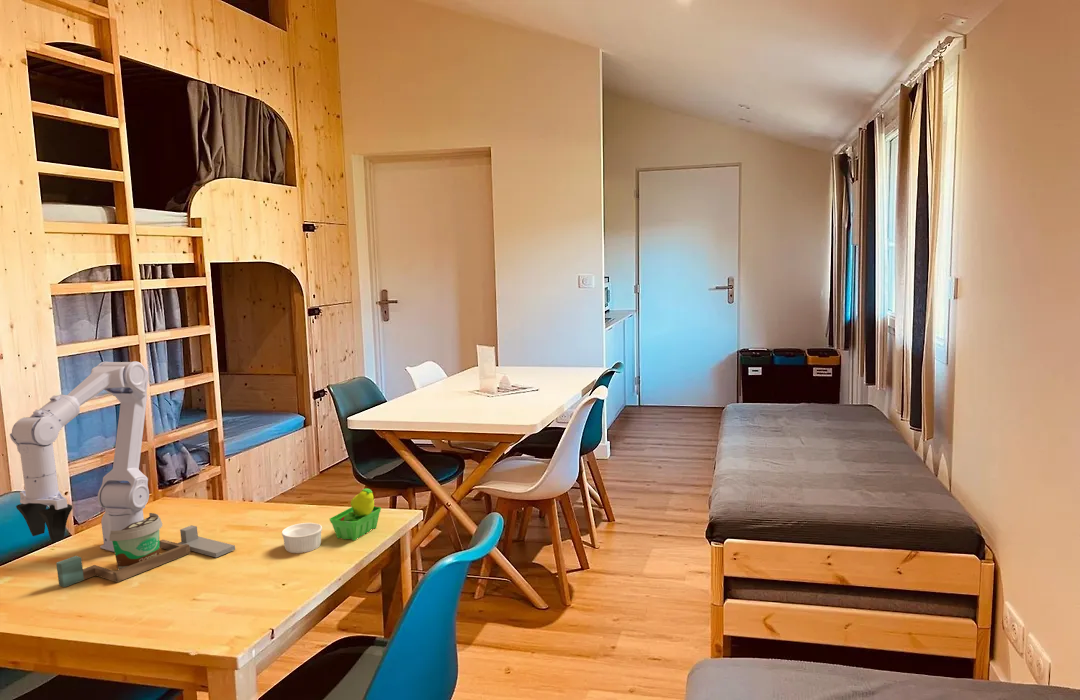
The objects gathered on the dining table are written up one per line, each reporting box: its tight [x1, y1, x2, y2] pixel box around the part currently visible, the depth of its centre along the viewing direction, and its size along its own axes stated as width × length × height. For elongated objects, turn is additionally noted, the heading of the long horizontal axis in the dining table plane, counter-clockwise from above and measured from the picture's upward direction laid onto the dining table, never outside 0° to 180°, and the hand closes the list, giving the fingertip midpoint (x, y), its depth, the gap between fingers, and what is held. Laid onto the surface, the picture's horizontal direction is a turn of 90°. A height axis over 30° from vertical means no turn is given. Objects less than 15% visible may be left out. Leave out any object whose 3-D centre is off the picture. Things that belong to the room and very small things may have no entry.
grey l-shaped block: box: [177, 525, 236, 558], centre depth 175 cm, size 14×5×4 cm, turn 60°
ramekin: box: [281, 522, 323, 554], centre depth 174 cm, size 9×9×4 cm
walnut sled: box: [55, 539, 191, 588], centre depth 165 cm, size 10×24×5 cm, turn 150°
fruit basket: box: [329, 488, 382, 541], centre depth 181 cm, size 11×9×11 cm
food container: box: [109, 512, 163, 570], centre depth 166 cm, size 12×6×10 cm, turn 166°
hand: (48, 537), depth 157 cm, fingers open, 7 cm apart
